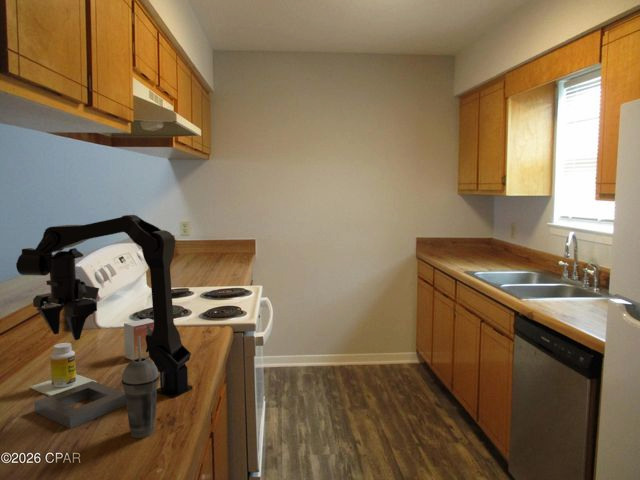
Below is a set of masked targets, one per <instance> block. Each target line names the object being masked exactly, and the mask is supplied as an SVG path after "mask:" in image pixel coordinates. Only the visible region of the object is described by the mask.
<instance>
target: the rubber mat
mask: <svg viewBox="0 0 640 480" xmlns="http://www.w3.org/2000/svg"><path fill="white" fill-rule="evenodd" d="M91 381H94V382H97V383H98V381H97V380H94V379H93V378H92V379H91V378H88V377H85V376H83V375H80V374H77V373H76V382H75V383H74V384H73V385H71V386H67V387H62V388H57V387H54V386H52V381H51V379H49V380H46V381H44V382H43V381H42V382H40V383H37V384H34V385H31V386H30V389H32V390H34V391H36V392H39V393H41V394H43V395H46V396H47V397H48V396H51V395H54V394H57V393H60V392H62V391H65V390H68V389H71V388H74V387H77V386H79V385H82V384H85V383H88V382H91Z"/></svg>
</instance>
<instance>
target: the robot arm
mask: <svg viewBox="0 0 640 480" xmlns="http://www.w3.org/2000/svg"><path fill="white" fill-rule="evenodd" d="M120 233H125V234H126V235H128V237H129V239H131V241H132V242H133V243H134V244H136V245H138V246H139V247H140V249H141V251H142V256H143V260H144V261H145V263H146V265H147V266H148V269H149V275H150V276H149V277H150V288H151V304H152V317H153V319H152V320H154V328H153V331H152V332H151V333H149V334H147V335H146V343H147V349H146V352H148V351H149V357H148V358H149V360H151V361H152V362H153V363H154V364H155V365H156V367H157V369H158V373H159V385H160V387H157V393H159V394H162V395H165V396H168V397H171V398H175V397H177V396H180V395H182V394H183V393H186V392H188V391H190V390H192V389H193V387H194V386H193V385H190V384H189V383H188V381H189V380H188V379H189V377H188V374H189V373H188V366H187V365H186V364H187V363H188V362H189V361H190V359H191V356H192V353H191V351H189V350H188V349H187V347H185V346H184V345H183V344H182V340H181V335H180V332H179V330H178V328H177V327H176V325H175V322H174V309H173V308H174V307H173V305H174V304H173V293H172V292H173V291H172V279H171V277H172V275H171V265H172V262H173V258H174V257H175V256H174V255H175V250H176V249H175V248H176V247H175V246H176V238H175V236H174V235H173V234H172V233H171V232H170V231H168V230H165V229H161V228H159V227H158V226H155V225H154V224H151V223H150V222H148V221H146V220H144V219H143V218H141V217H140V216H138V215H136V214H126V215H122V216H121V217H116V218H112V219H106V220H102V221H101V220H100V221H98V222H96V221H95V222H91V223H86V224H65V225H55V226H49V227H47V228H46V229H44V232H43V236H42V239H41V240H40V242H39V243H38V244H37V246H36V247H35V248H32V247H30V248H29V247H27V248H22V249H21V254H20V255H19V257H18V258H17V260H16V265H15V266H16V270H17V272H18V274H19V275H21V276H42V277H43V276H48V275H49V280H46V285H47V286H50V292H47V293H42V294H37V295H36V296H35V297H34V298H33V299H32V301H33V303H32V304H33V308H36V311H38V313H39V315H41V317H42V319H44V321H45V323H46V325H48V327H49V329H50V331H51V332H52V334H53V335H58V334H60V322H61V321H60V320H61V312H62V310H63V308H64V311H65V313H66V314H65V315H64V317H65V319H66V321H67V324H68V327H69V330H70V332H71V334H72V337H73V340H74V341H78V340H80V339H81V336H82V332H83V330H84V325H85V323H86V320H87V318H88V317H90V316H91V315H93V314H94V313H95V312H98V302H96V300H97V299H98V295H99V290H100V287H95V286H90V285H86V282H85V281H82V280H81V279H80V278H77V274H76V273H77V272H76V260H75V259H78V258H83V257H84V254H83V253H82V252H81V251H79V250H78V249H77V248H76V247H75V246H78V245H81V244H82V243H84V242H86V241H88V240H90V239H91V240H92V239H96V238H102V237H106V236H110V235H116V234H120ZM72 247H73V248H72ZM68 248H70V249H69V250H65V249H68ZM53 253H55V254H53Z"/></svg>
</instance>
